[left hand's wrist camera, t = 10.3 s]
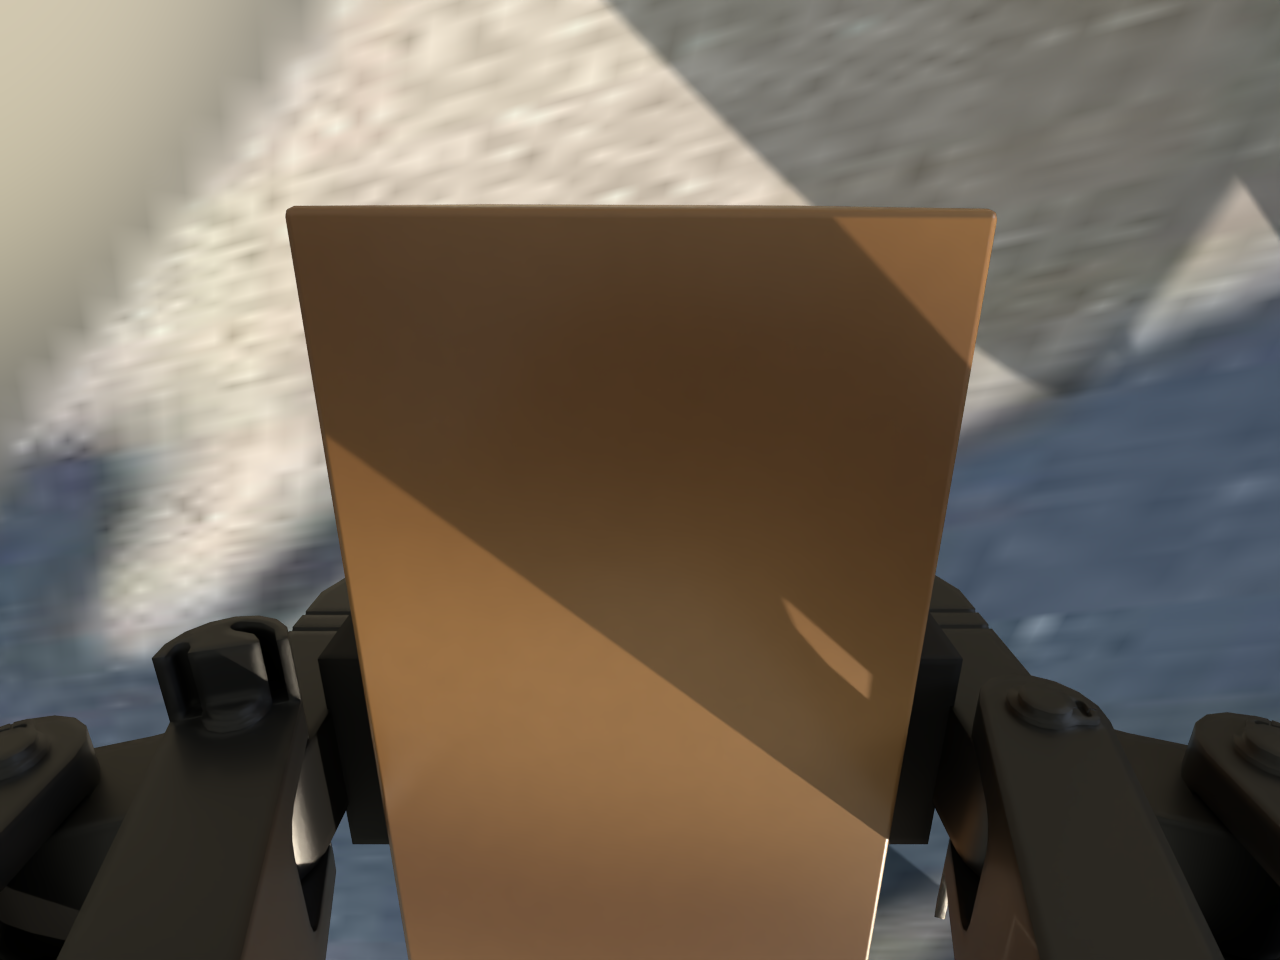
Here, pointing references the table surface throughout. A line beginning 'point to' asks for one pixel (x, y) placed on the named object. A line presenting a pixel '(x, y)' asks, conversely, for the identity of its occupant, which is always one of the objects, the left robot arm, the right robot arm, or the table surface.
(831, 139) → the table surface
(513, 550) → the bar
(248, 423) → the table surface
